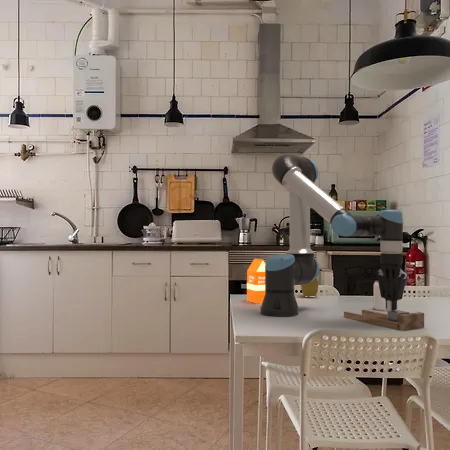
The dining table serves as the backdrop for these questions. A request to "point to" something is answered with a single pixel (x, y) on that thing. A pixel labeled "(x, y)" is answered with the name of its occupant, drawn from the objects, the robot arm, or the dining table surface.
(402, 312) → the block
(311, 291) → the flower pot
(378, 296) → the can
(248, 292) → the orange juice
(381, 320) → the oak track
